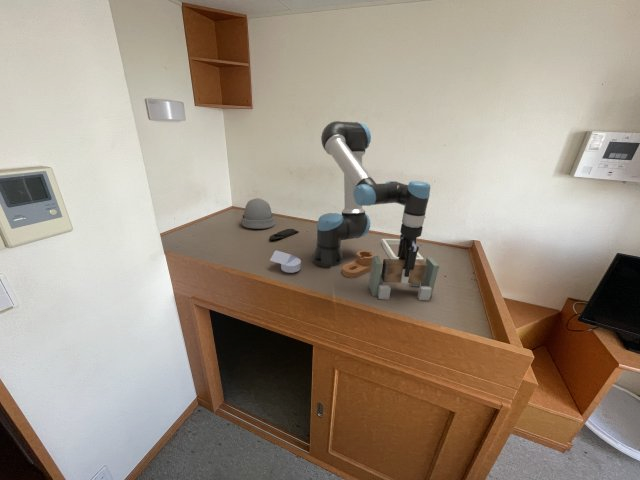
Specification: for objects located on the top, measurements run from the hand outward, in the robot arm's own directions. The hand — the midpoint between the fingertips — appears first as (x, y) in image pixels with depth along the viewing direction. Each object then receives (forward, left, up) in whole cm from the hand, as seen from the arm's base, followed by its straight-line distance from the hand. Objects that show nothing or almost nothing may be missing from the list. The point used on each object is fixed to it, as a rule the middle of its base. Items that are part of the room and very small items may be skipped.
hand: (402, 279), depth 108 cm
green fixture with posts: (0, 0, -6) cm, 6 cm away
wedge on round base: (-53, +22, -2) cm, 58 cm away
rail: (0, 0, 0) cm, 0 cm away
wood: (-57, +57, -7) cm, 81 cm away
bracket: (-15, +17, -6) cm, 23 cm away
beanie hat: (-71, +69, -8) cm, 100 cm away
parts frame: (+12, +37, -6) cm, 39 cm away
